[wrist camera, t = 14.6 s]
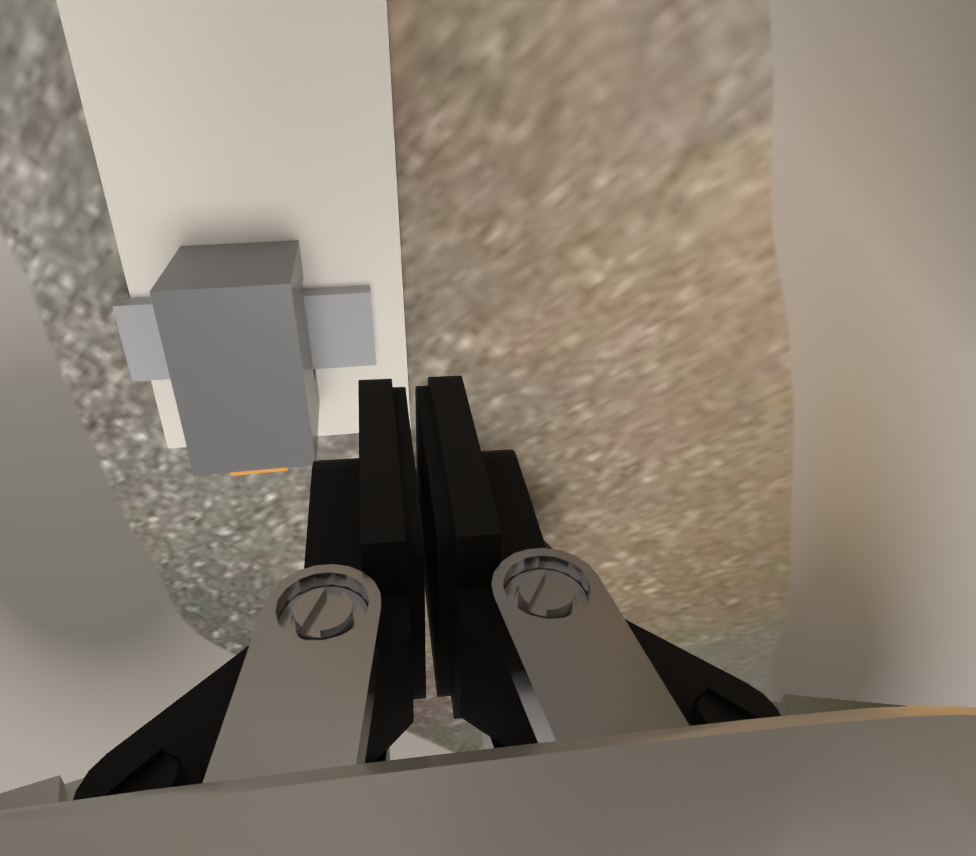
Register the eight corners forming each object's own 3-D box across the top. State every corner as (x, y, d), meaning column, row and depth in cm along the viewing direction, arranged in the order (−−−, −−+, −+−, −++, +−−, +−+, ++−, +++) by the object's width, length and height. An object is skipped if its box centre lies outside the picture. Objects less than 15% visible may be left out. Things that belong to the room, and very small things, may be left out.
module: (298, 240, 33) (290, 283, 27) (321, 411, 37) (317, 476, 32) (180, 245, 32) (149, 291, 27) (217, 419, 36) (196, 487, 31)
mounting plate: (380, -83, 28) (382, -90, 26) (408, 417, 39) (412, 438, 37) (29, -91, 26) (5, -98, 25) (162, 437, 37) (153, 459, 35)
